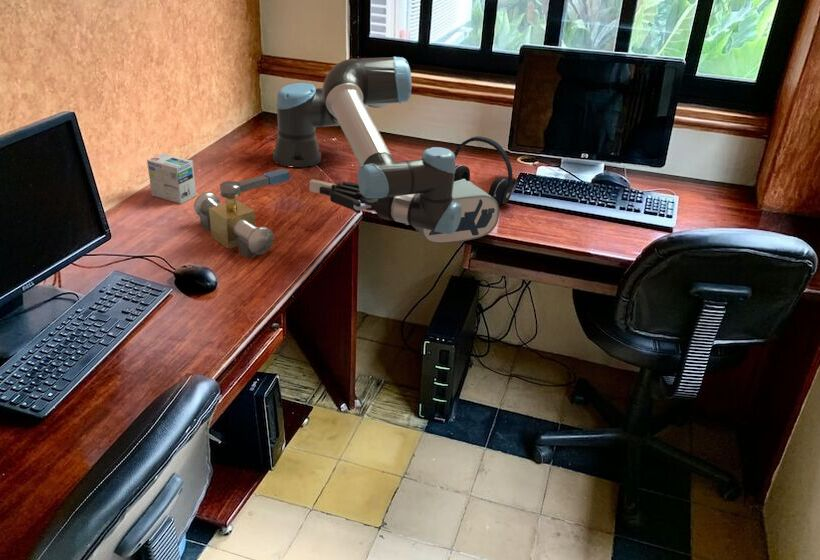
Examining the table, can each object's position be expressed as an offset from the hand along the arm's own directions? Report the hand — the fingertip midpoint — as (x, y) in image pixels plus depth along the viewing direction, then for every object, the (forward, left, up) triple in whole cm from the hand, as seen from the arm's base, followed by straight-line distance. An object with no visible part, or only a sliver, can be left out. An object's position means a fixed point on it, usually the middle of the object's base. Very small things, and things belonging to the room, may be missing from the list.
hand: (311, 185), depth 182 cm
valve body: (-13, -14, -14) cm, 24 cm away
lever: (-12, -8, -2) cm, 14 cm away
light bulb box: (-44, -8, -14) cm, 47 cm away
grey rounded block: (+23, +28, -14) cm, 39 cm away
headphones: (+19, +52, -14) cm, 57 cm away
